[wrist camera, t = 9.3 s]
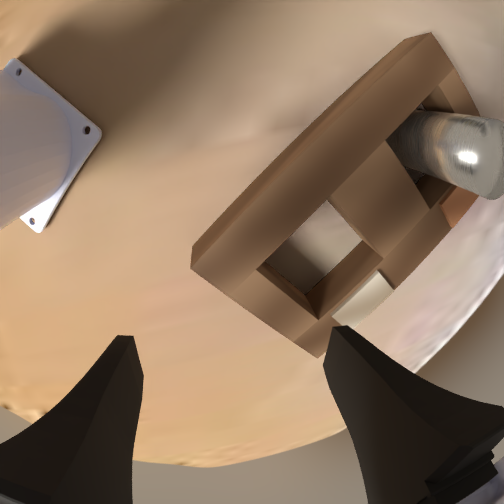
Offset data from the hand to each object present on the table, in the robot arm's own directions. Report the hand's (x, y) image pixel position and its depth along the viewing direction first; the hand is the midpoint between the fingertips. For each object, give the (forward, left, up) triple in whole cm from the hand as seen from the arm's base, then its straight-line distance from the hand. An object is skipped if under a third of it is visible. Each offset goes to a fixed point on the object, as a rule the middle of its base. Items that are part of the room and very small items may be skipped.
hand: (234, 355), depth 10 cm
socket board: (+4, +9, -9) cm, 14 cm away
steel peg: (+4, +14, -9) cm, 17 cm away
